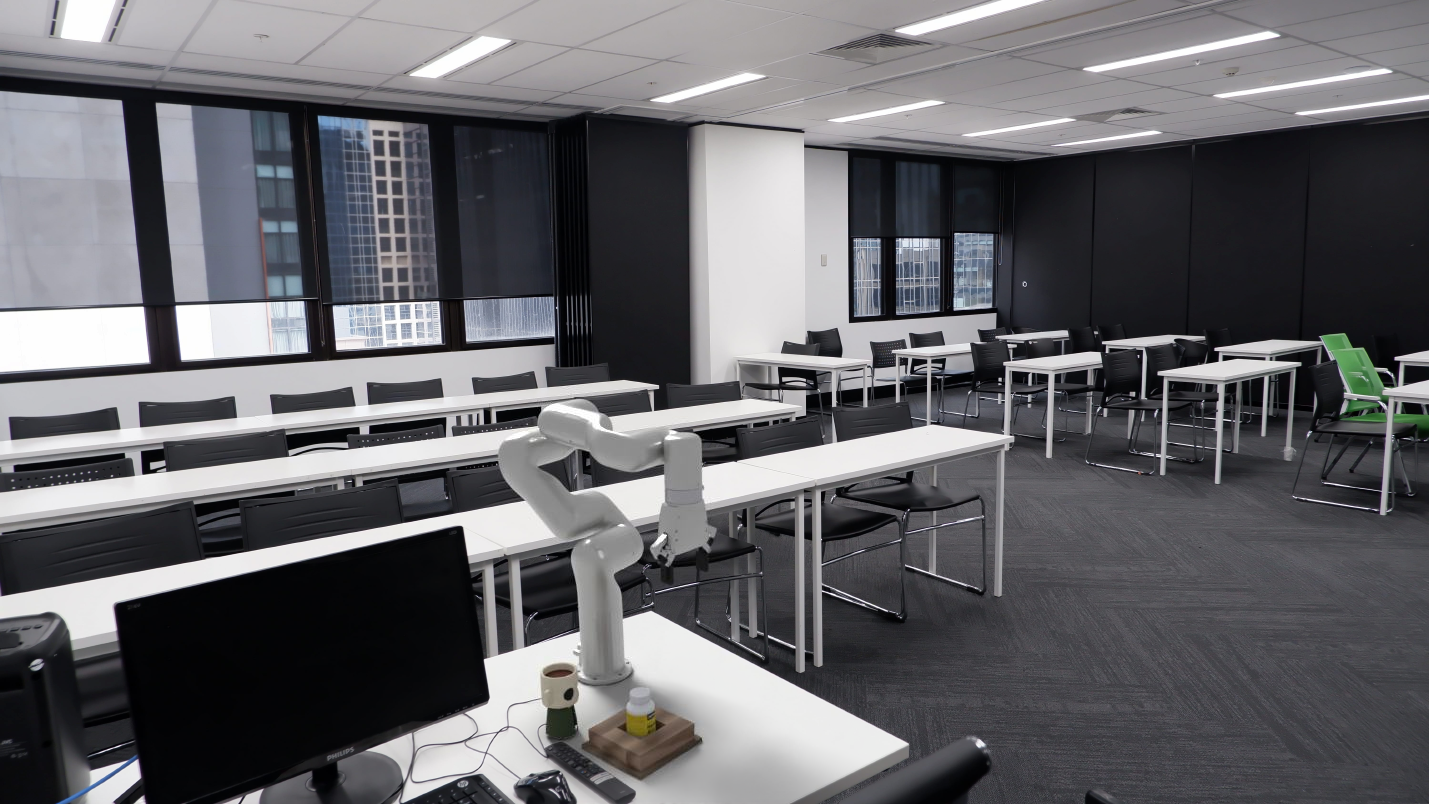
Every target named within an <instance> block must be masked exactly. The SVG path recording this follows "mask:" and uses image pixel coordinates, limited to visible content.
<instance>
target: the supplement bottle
mask: <svg viewBox="0 0 1429 804" xmlns="http://www.w3.org/2000/svg"><path fill="white" fill-rule="evenodd" d="M655 706H656V705H655V702H654V701H653V699H652V691H651V689H650V688H648V687H645V686H638V687H634V688H631V689H630V691H629V701H628V702H627V704H626V708H625V709H626V721H627V733H628V734H630V735H632V736H635V737H637V738H639V739H643V738H644V737H646V736H648V735H650V734H651V733H653V732H655V731H656V726H655Z"/></svg>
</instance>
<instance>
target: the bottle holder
mask: <svg viewBox="0 0 1429 804" xmlns="http://www.w3.org/2000/svg"><path fill="white" fill-rule="evenodd" d="M655 726H656V731H655V732H653V733H651V734H650V735H648V736H646V737H644V738H643V739H639V738H637V737H635V736H632V735H630V734H628V733H627V721H626V708H625V709H623V710H621V711H619V712H617V713H616V714H614V715H612V716H610V717H607V718H606V719H604V720H603V721H601V722H598V723H597V724H595V725H593V726H591V727H589V728H588V729H587V731H588V740H586V741H585V742H582V744H581V749H582V750H584V751H585V752H588V753H589V754H592V755H593V756H595V757H596V758H599V760H602V761H604V762H605V763H607V764H610V765H612V766H614V767H615V768H617V769H619V770H620V771H623V772H625V773H626V774H628V775H630V776H632V777H634V778H635V779H638V780H640V781H643V779H645V778H647V777H648V776H650V775H652V774H654V773H655V772H656V771H658V770H660V769H661V768H663V767H664V766H666V765H667V764H669V763H670V762H673V760H676V759H677V758H679V757H680V756H682V755H683V754H685V753H686V752H689V750H691V749H692V748H695V747H697V745H699V744H701V743H702V742H703V737H702V736H699V735H697V734H695V733H696V732H695V722H692V721H691V720H688V719H686V718H684V717H681V716H679V715H677V714H675V713H673V712H671V711H669V710H666V709H663V708H661V707H659V706H657V705H655Z"/></svg>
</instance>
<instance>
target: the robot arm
mask: <svg viewBox="0 0 1429 804" xmlns="http://www.w3.org/2000/svg"><path fill="white" fill-rule="evenodd" d="M536 424H537V427H536V428H532V429H528V430H523V431H520V432H519V431H518V432H517V433H514V434H511V435H510V436H508V437H506V438H505V439H504V440H503V441H502V443H501V444H500V446H499V447H498V452H497V459H498V460H497V462H498V466H499V471H500V473H501V475H502V477H503V479H504V480H505V482H506V483H507V484H508V486H510V488H511V489H512V490H513V491H514V492H515V493H516V494H517V495H519V496H520V497H521V498H522V499H523V500H524V501H525V502H526V503H527V505H529V507H531V509H532V510H533V511H534V513H535V514H536V515H537V516H538V518H539V519H540V520H541V521H542V522H543V524H544V525H545V526H546V527H547V529H548V530H549V531H550V532H551V533H552V535H553V536H554V537H555V538H557V540H559V541H561V542H564V543H569V542H574V541H576V540H579V539H581V540H580V541H578V542H577V543H576V544H575V546H574V547H573V549H572V551H571V556H570V560H571V561H570V562H571V567H572V568H571V569H572V570H573V575H574V578H575V579H574V580H575V583H576V591H577V604H578V605H577V608H578V623H579V638H580V639H579V640H580V642H579V643H578V645H577V646H576V647H577V648H574V650H573V651H572V654H573V655H574V656H576V657H578V663H577V664H576V665H575V666H576V667H577V670H578V681H580V682H582V683H585V684H587V685H594V686H595V685H596V686H603V685H612V684H616V683H619V682H620V681H622V680H625V679H626V678H628V676H630V675H631V674H632V671H633V665H632V664H633V663H632V661H631V660H629V659H628V658H627V657H625V638H624V637H625V636H624V616H623V613H624V611H623V600H622V599H623V598H622V597H623V595H622V591H621V588H620V586H619V584H618V583H617V581H616V579H615V576H614V575H615V574H616V573H618V572H619V571H622V570H623V569H625V568H627V567H629V566H631V565H633V564H635V563H636V562H639V561H638V560H640V559H641V557H642V556H643V554H644V553H643V552H644V542H643V539H642V536H641V534H640V532H639V531H638V529H637V528H636V527H635V526H634V525H633V523H632V522H631V521H630V520H629V519H628V518H627V517H626V516H625V514H624V513H623V512H622V511H621V510H620V509H619V508H618V506H617V505H616V504H615V503H614V502H613V501H612V500H611V498H609V497H608V496H607V495H606V494H604V493H602V492H600V491H597V490H587V491H583V492H580V493H578V494H573V493H571V492H570V491H569V490H568V489H567V488H566V487H565V486H564V485H563V484H562V482H561V481H560V480H559V479H558V478H557V477H555V476H554V475H552V474H550V473H549V472H547V471H545V470H543V469H541V468H539V467H540V466H543V465H547V464H551V463H554V462H557V461H561V460H563V459H565V458H566V457H568V456H570V454H572V453H573V452H574V451H575V450H576V449H579V450H582V451H586V452H589V453H590V455H591V456H592V457H593V459H594V460H595V461H597V463H599V464H601V465H603V466H604V467H607V468H611V469H614V470H618V471H622V472H627V473H628V472H629V473H637V472H640V471H641V472H642V471H644V470H645V471H646V469H651V468H653V467H656V466H657V467H658V466H661V465H663V473H664V482H663V483H664V502H663V503H661V506H660V511H659V512H660V513H659V516H658V518H659V520H658V527H657V528H658V529H657V530H658V531H657V532H658V533H657V535H658V536H657V539H656V541H654V543H652V544H651V545H650V547H649V550H650V553H651V554H652V557H653V559H654V560H655V561H656V562H657V563H658V564H659V566H660V582H662V583H664V584H667V585H669V586H674V583H675V582H674V581H675V580H674V579H675V578H674V577H675V576H674V565H672V563H673V561H674V559H675V557H676V556H677V555H681V554H683V553H686V552H691V551H693V550H695V549H696V550H695V569H696V570H698V571H701V572H703V573H707V572H710V571H709V569H710V568H709V567H710V566H709V553H711V551H712V548H711V547H712V546H713V543H714V541H715V539H714V538H715V536H716V534H717V527H715V526H713V525H710V524H709V523H708V514H707V509H706V508H707V507H706V503H705V498H704V497H703V491H704V490H705V485H703V453H702V452H703V451H702V448H703V446H702V445H703V444H702V439H701V437H700V435H698V434H696V433H694V432H686V431H685V432H683V431H681V432H679V431H676V430H673V429H671V428H669V427H664V426H659V427H658V426H657V427H656V426H655V427H653V428H648V429H644V430H641V431H637V432H634V433H630V434H626V433H620V432H616V431H614V427H613V422H612V420H611V418H610V417H609V416H608V415H606V414H605V413H601V412H599V410H598V408H597V406H596V405H595V404H594V403H592V402H591V401H590V400H587V399H585V398H584V399H583V398H576V399H571V400H566V401H561V402H557V403H553V404H550V405H548V406H546V407H545V408H544V409H543V410H541V411H540V413H539V415H538V418H537V423H536ZM667 555H668V556H667Z"/></svg>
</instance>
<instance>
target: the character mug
mask: <svg viewBox="0 0 1429 804" xmlns="http://www.w3.org/2000/svg"><path fill="white" fill-rule="evenodd" d="M576 666H577V665H576V664H573V663H570V662H561V661H560V662H553V663H550V664H548V665H545V666H544V667H542V669H540V672H539V678H540V693H541V694H540V697H541V702H542V705H543V706H544V707H545V708H546V709H547V710H546V722H545V734H546V735H547V736H548V737H551V738H554V739H560V740H564V739H570V738H572V737H574V736H575V735H576V731H577V732H578V731H579V725H578V724H579V723H578V717H577V712H576V707H575V705H576V704H577V703H578V702H579V697H580V692H579V688H578V684H579V680H578V670H577V667H576Z"/></svg>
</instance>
